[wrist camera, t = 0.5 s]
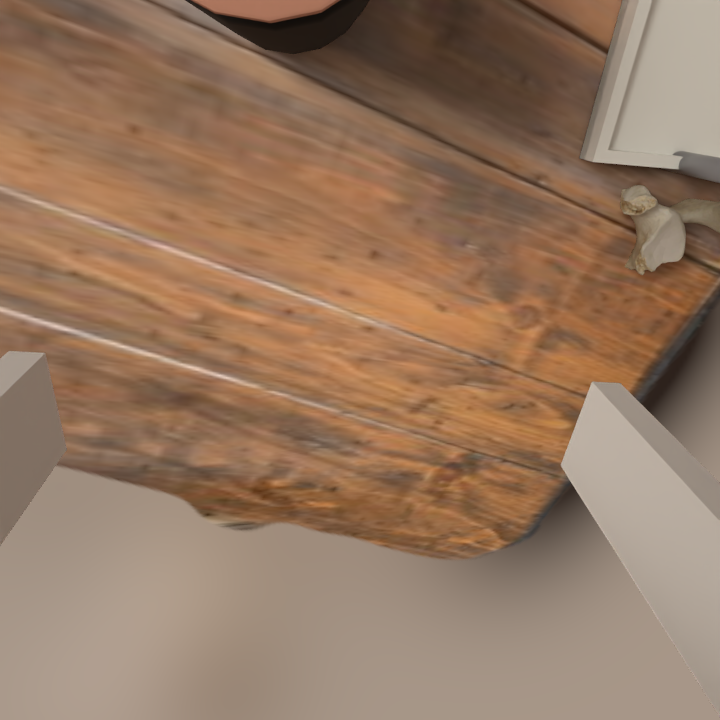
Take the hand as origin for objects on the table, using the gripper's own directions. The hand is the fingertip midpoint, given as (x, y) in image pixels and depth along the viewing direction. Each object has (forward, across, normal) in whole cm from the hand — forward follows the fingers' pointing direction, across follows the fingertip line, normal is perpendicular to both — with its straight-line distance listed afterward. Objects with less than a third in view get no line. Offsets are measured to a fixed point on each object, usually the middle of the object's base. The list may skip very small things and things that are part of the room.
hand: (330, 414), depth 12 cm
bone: (+27, +24, 0) cm, 36 cm away
